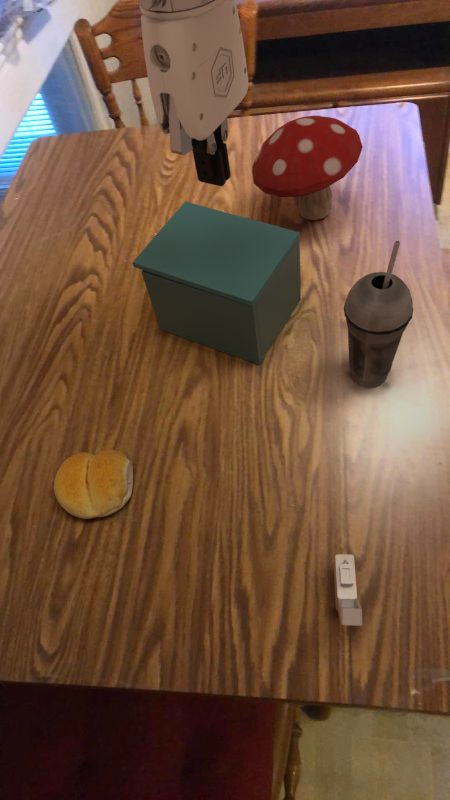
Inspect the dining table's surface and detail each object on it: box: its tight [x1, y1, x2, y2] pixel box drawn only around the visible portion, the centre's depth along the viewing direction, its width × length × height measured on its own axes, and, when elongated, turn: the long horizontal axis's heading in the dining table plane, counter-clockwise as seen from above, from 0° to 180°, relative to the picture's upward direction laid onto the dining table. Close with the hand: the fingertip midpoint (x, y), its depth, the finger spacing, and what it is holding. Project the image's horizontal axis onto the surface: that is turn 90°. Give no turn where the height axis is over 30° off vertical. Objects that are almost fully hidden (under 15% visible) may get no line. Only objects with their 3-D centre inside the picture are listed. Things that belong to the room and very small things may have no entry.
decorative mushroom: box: [251, 115, 363, 221], centre depth 83 cm, size 16×16×15 cm
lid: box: [132, 201, 301, 306], centre depth 69 cm, size 17×13×1 cm
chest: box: [141, 237, 302, 366], centre depth 74 cm, size 16×13×11 cm
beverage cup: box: [343, 240, 414, 389], centre depth 62 cm, size 7×7×20 cm
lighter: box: [333, 553, 363, 626], centre depth 52 cm, size 7×2×8 cm, turn 177°
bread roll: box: [53, 448, 134, 520], centre depth 64 cm, size 8×9×4 cm
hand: (214, 179), depth 61 cm, fingers closed
